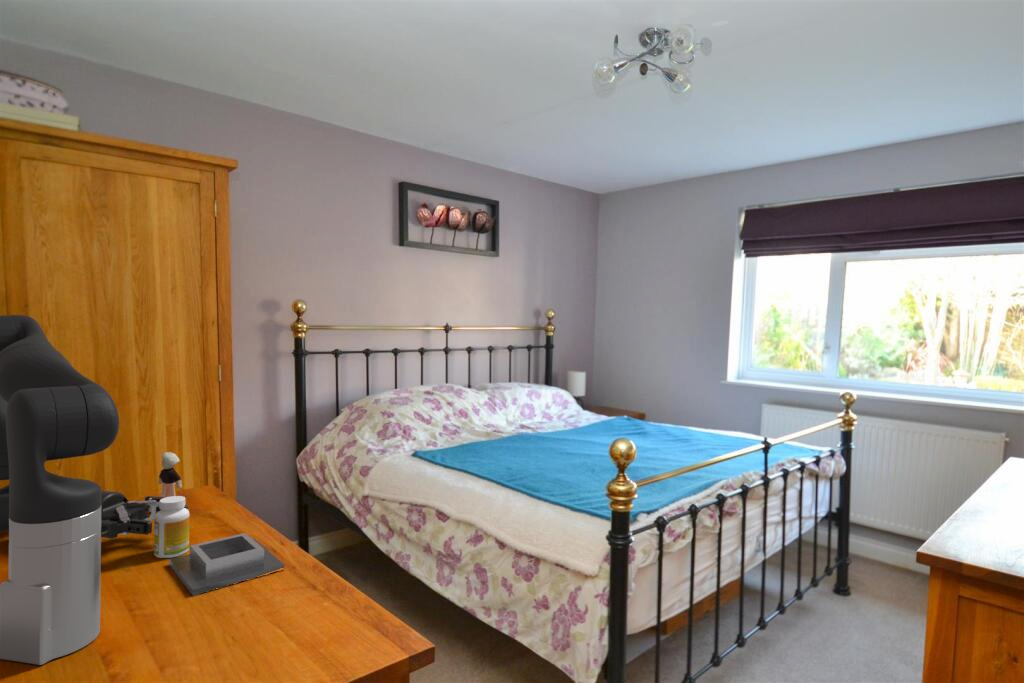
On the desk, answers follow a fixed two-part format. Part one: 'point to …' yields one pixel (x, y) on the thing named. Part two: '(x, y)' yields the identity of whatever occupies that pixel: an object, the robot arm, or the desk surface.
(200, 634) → the desk surface
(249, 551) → the socket plate
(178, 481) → the grandmother figurine
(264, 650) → the desk surface
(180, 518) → the supplement bottle
